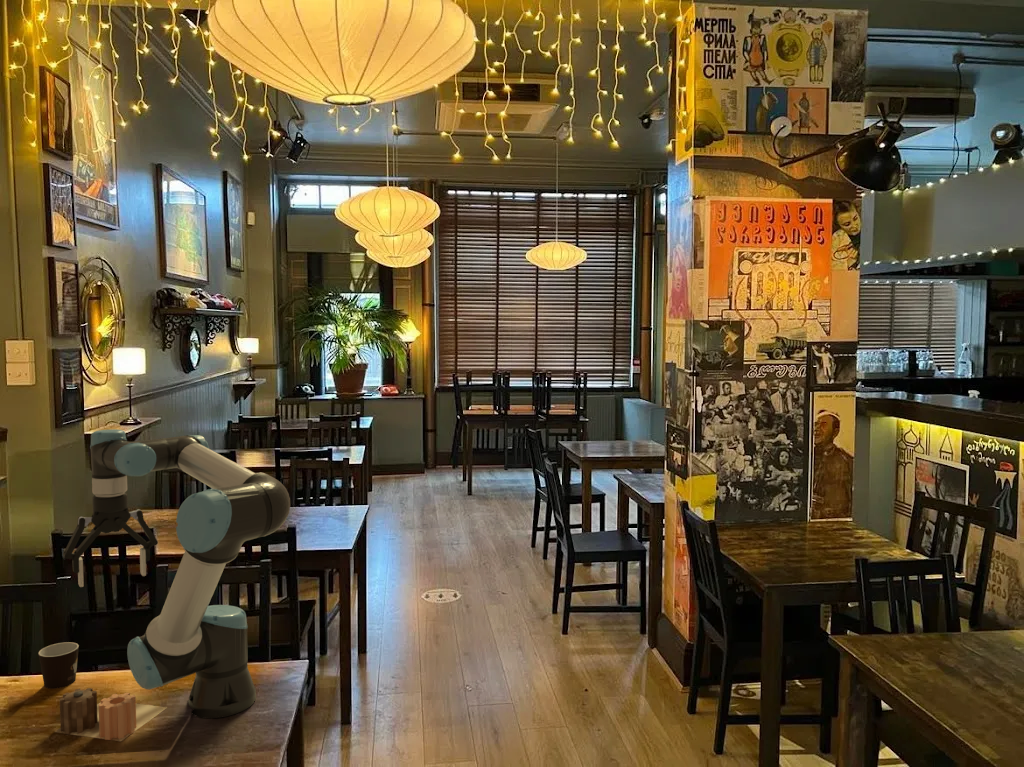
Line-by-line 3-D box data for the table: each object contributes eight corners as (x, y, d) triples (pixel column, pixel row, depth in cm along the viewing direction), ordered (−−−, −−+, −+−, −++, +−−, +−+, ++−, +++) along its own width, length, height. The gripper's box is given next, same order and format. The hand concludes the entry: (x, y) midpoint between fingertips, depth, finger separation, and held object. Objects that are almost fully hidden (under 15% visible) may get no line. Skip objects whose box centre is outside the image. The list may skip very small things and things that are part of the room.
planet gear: (132, 719, 171) (131, 689, 170) (139, 733, 165) (138, 702, 165) (97, 729, 167) (96, 698, 166) (102, 743, 161) (101, 711, 160)
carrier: (167, 713, 177) (166, 686, 176) (121, 747, 162) (120, 718, 162) (105, 705, 180) (104, 679, 180) (54, 738, 166) (53, 709, 165)
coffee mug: (61, 698, 184) (60, 658, 183) (31, 694, 186) (29, 655, 185) (96, 676, 195) (95, 639, 195) (68, 673, 197) (66, 636, 196)
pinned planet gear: (104, 719, 171) (103, 687, 170) (80, 736, 164) (79, 702, 163) (78, 716, 172) (77, 683, 172) (52, 732, 165) (51, 698, 165)
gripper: (161, 485, 193) (164, 566, 195) (48, 497, 178) (51, 585, 179) (169, 490, 187) (171, 573, 189) (52, 503, 172) (55, 594, 174)
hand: (112, 579), depth 184 cm, fingers open, 13 cm apart
